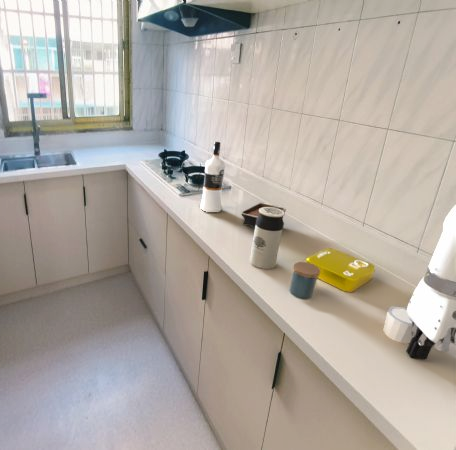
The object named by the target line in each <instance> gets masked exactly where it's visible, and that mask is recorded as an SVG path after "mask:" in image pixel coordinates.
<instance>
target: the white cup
mask: <svg viewBox="0 0 456 450" xmlns="http://www.w3.org/2000/svg"><path fill="white" fill-rule="evenodd" d="M412 329H413V325H412V322H411V320H410V318H409V316H408V314H407V307H403V306H389V307H388V309H387V312H386V316H385V321H384V325H383V330H382V332H383V333H384V335H385V336H386V337H388V338H389V339H391V340H392V341H395V342H397V343H400V344H405V345H409V343H410V341H411V339H412V338H413V337H412V335H411V332H412Z"/></svg>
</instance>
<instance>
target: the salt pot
mask: <svg viewBox="0 0 456 450" xmlns="http://www.w3.org/2000/svg"><path fill="white" fill-rule="evenodd" d="M319 274H320V269H319V268H318V267H317V266H315V265H313V264H311V263H307V262H306V261H297V262H295V263H294V264H293V273H292V277H291V281H290V287H289V293H290V294H291V295H292V296H293V297H295V298H298V299H301V300H309V299H312V298H313V296H314V291H315V288H316V284H317V280H318V278H317V277H318V276H319Z"/></svg>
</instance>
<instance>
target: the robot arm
mask: <svg viewBox="0 0 456 450" xmlns="http://www.w3.org/2000/svg"><path fill="white" fill-rule="evenodd" d="M406 309H407V314H408V316H409V318H410V320H411V322H412V325H413V329H412V332H411V335H412V337H413V338H412V339H411V341H410V343H409V344H408V345H407V348H406V351H405V352H406V353H407V355H408V356H409V357H410V358H411V359H418V360H426V359H428V357H429V354H430V352H431V350H432V348H434V349H435V350H437V351H438V352H443V353H448V352H449V348H450V344H453V345H455V346H456V204H455V205H454V206H453V207H452V208H451V210H450V211H449V212H448V214H447V215H446V216H445V218H444V221H443V225H442V232H441V235H440V237H439V239H438V242H437V244H436V247H435V249H434V252H433V254H432V257H431V259H430V261H429V263H428V266H427V269H426V271H425V274H424V276H423V277H422V278H421V280H420V281H419V283H418V285H417V286H416V287H415V289H414V291H413V293H412V295H411V297H410V299H409V302H408V303H407V307H406Z"/></svg>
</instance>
